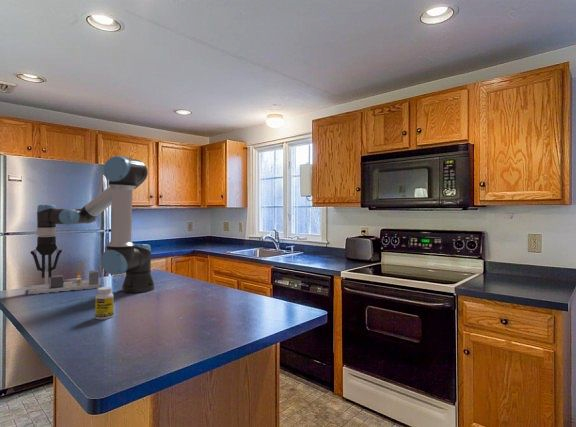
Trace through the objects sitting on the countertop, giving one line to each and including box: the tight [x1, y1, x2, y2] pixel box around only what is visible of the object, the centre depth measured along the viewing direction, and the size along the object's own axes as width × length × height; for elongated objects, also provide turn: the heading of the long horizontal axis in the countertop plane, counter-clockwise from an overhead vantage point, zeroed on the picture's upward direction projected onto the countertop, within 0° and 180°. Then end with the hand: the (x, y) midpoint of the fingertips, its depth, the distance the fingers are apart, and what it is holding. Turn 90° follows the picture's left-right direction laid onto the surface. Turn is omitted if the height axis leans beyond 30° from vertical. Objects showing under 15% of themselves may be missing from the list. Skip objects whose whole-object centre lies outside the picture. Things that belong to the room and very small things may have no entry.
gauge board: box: [27, 269, 102, 296], centre depth 179 cm, size 30×13×8 cm, turn 122°
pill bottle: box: [94, 286, 115, 320], centre depth 133 cm, size 6×6×11 cm
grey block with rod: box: [49, 274, 83, 288], centre depth 179 cm, size 14×10×5 cm
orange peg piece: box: [76, 270, 81, 282], centre depth 185 cm, size 2×3×5 cm, turn 32°
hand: (46, 284), depth 173 cm, fingers closed
